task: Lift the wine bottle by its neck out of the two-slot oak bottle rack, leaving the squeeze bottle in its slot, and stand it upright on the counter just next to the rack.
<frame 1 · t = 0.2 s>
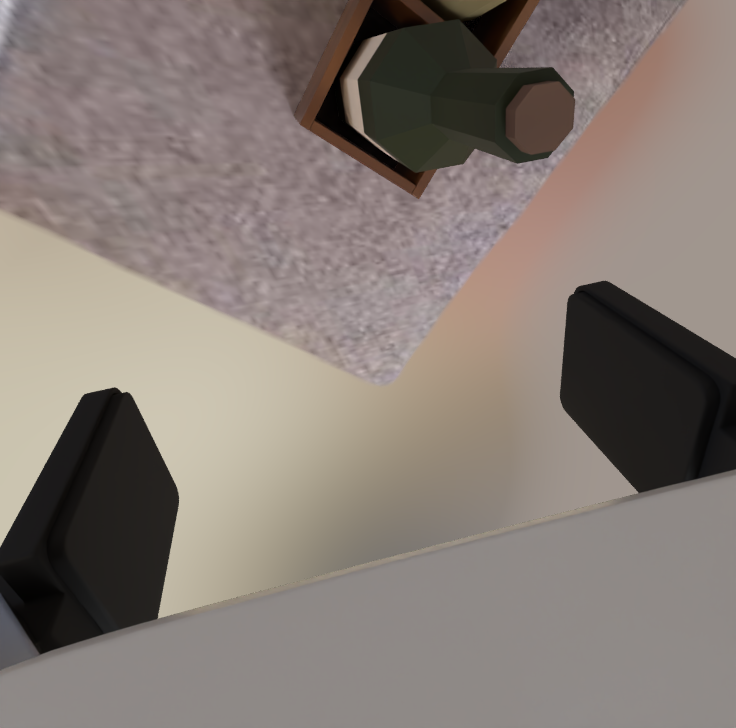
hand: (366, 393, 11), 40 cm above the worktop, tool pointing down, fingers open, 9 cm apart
bottle rack: (410, 31, 42), on the worktop
wine bottle: (378, 91, 44), resting in bottle rack
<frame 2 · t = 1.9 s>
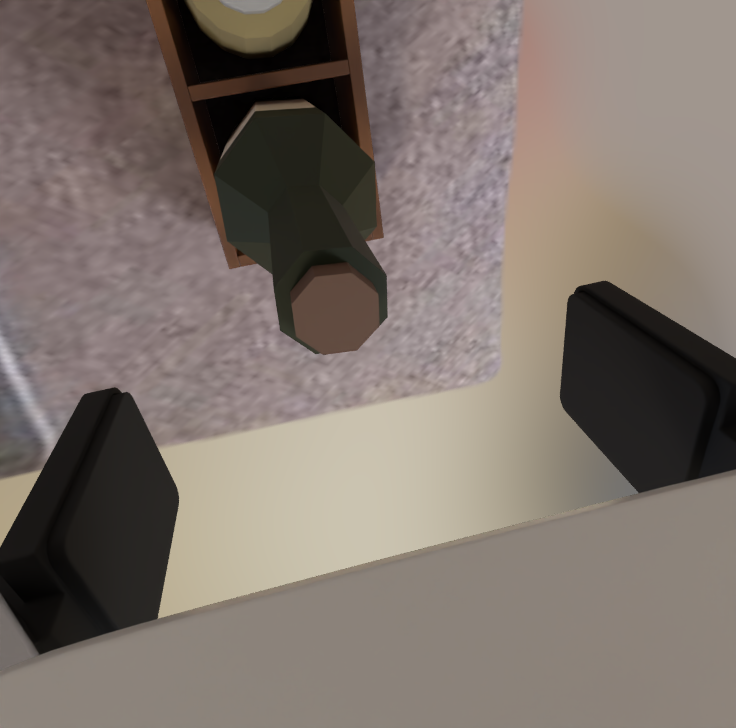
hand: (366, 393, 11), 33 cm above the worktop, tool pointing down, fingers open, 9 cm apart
bottle rack: (267, 77, 36), on the worktop
wine bottle: (284, 152, 39), resting in bottle rack
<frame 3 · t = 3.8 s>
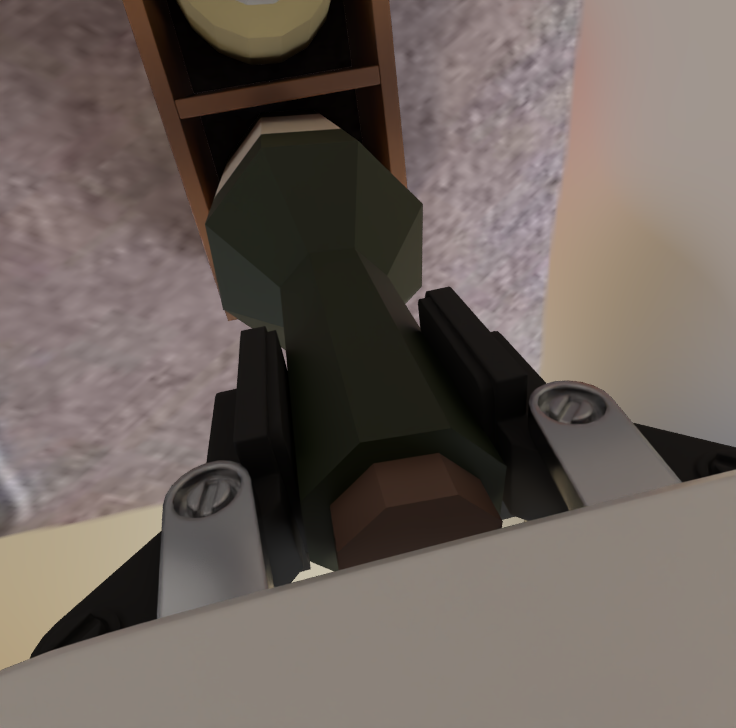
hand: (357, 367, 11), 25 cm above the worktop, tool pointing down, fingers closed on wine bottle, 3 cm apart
bottle rack: (275, 87, 30), on the worktop
wine bottle: (294, 175, 32), resting in bottle rack, touching gripper
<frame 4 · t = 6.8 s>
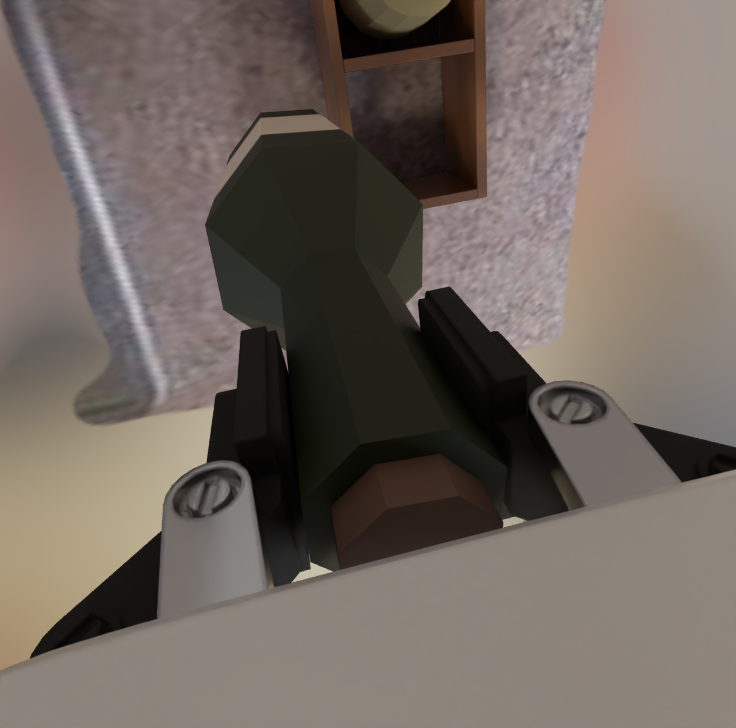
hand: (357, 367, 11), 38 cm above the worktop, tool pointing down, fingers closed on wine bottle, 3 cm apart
bottle rack: (385, 58, 41), on the worktop
wine bottle: (294, 176, 32), point 13 cm above the worktop, touching gripper
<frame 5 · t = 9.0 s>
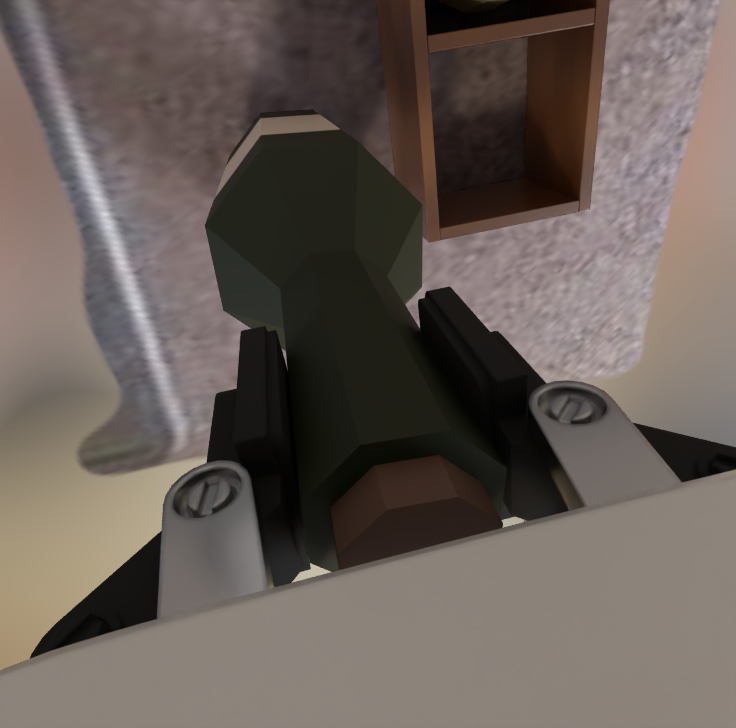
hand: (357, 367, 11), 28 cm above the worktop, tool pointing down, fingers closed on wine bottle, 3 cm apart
bottle rack: (461, 38, 33), on the worktop
wine bottle: (294, 176, 32), point 3 cm above the worktop, touching gripper
when the fingers open (25 cm above the worktop, at t = 10.2 s): wine bottle stays where it is, on the worktop.
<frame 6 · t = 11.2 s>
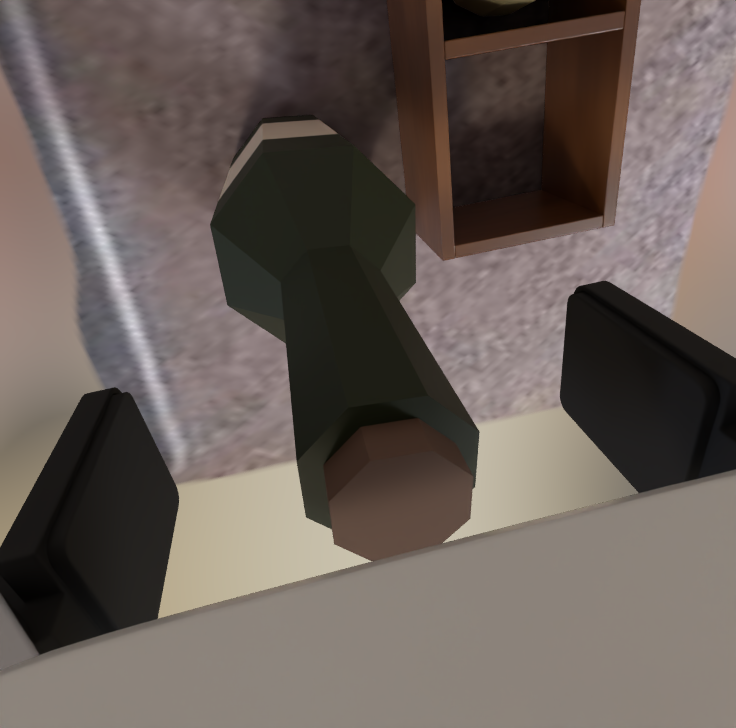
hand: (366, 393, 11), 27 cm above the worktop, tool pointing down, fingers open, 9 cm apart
bottle rack: (476, 43, 31), on the worktop
wine bottle: (295, 179, 34), on the worktop
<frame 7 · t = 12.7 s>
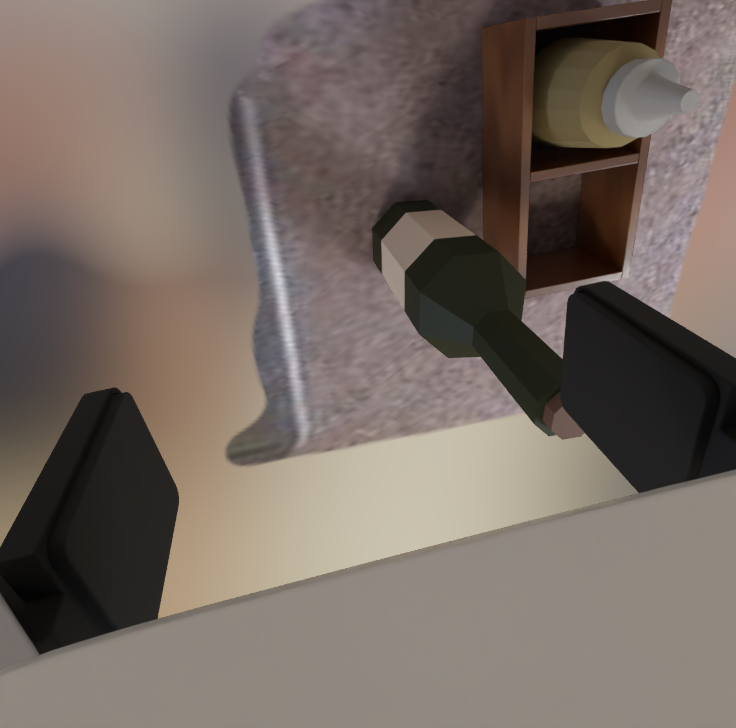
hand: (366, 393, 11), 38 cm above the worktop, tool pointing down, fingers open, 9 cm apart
squeeze bottle: (540, 93, 44), resting in bottle rack
bottle rack: (538, 154, 47), on the worktop
wine bottle: (410, 240, 49), on the worktop
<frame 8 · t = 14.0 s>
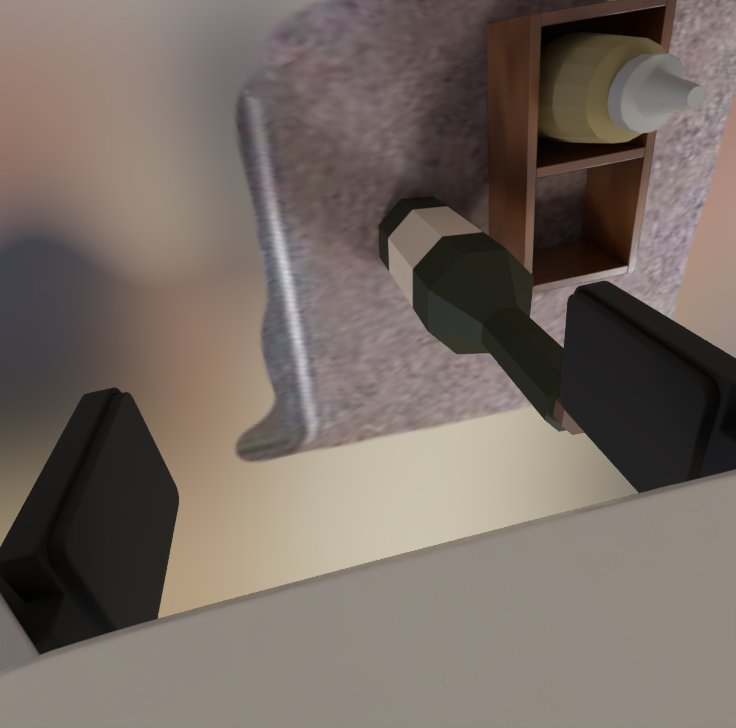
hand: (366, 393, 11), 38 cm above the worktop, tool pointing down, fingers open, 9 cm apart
squeeze bottle: (545, 88, 45), resting in bottle rack
bottle rack: (543, 149, 47), on the worktop
wine bottle: (416, 237, 49), on the worktop
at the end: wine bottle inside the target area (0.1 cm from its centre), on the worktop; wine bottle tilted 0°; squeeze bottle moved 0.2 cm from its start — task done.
